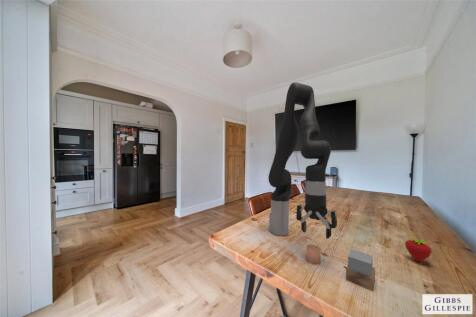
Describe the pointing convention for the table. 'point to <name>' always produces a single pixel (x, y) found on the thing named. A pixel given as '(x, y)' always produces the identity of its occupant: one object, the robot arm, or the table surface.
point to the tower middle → (360, 262)
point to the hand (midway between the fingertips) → (315, 234)
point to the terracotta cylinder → (313, 254)
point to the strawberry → (418, 249)
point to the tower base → (361, 278)
